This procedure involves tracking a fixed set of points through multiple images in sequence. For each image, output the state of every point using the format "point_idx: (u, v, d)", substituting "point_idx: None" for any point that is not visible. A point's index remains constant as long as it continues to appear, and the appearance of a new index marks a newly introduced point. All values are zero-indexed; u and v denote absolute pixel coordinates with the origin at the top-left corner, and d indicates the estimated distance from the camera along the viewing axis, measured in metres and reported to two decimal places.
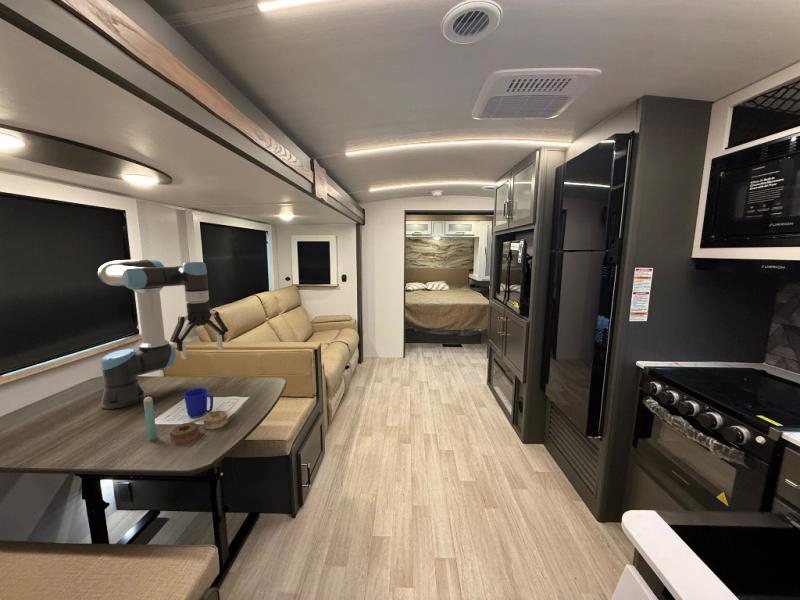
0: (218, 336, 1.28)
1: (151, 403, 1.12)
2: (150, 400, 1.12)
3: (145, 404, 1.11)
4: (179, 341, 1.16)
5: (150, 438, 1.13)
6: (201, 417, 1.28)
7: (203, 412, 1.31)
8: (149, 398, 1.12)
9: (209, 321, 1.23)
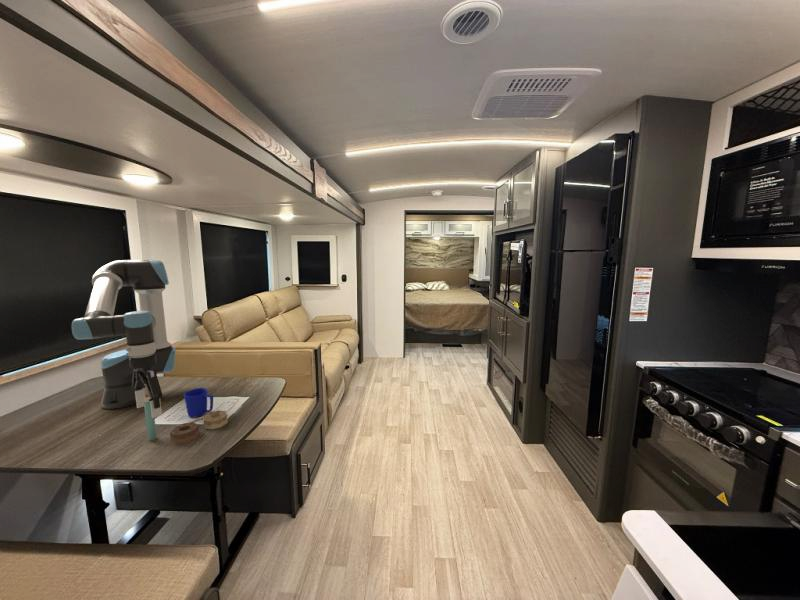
0: None
1: None
2: None
3: (145, 404, 1.11)
4: None
5: (150, 438, 1.13)
6: (201, 417, 1.28)
7: (203, 412, 1.31)
8: (149, 398, 1.12)
9: (142, 380, 1.08)
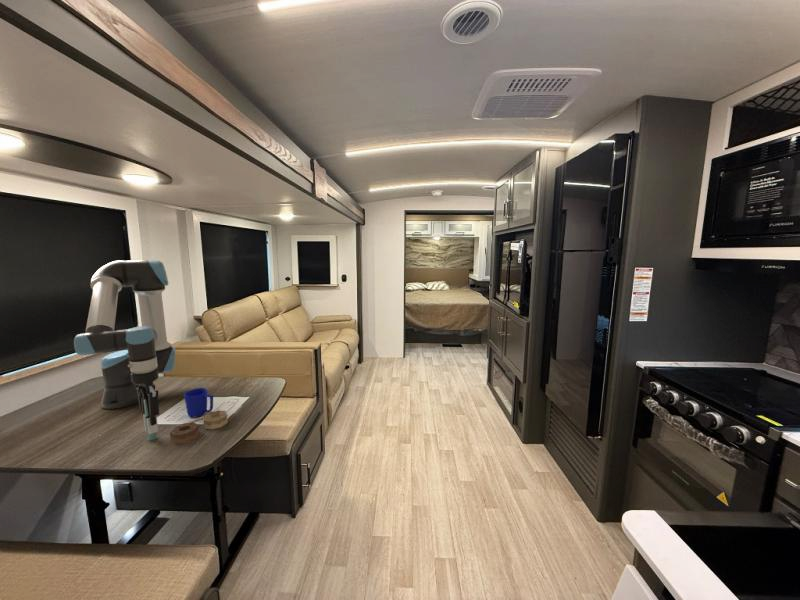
0: None
1: None
2: None
3: (145, 404, 1.11)
4: None
5: (150, 438, 1.13)
6: (201, 417, 1.28)
7: (203, 412, 1.31)
8: None
9: (143, 395, 1.10)
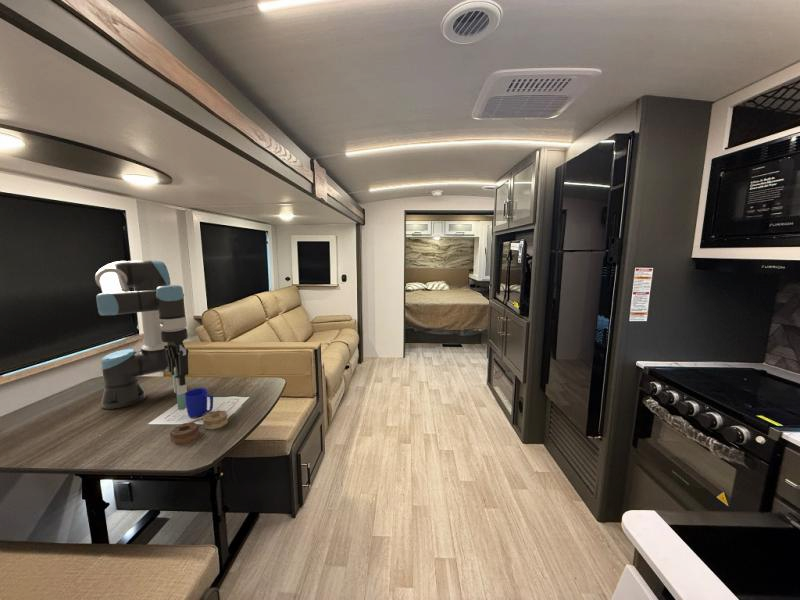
0: None
1: None
2: None
3: (175, 372, 1.10)
4: None
5: (180, 407, 1.12)
6: (201, 417, 1.28)
7: (203, 412, 1.31)
8: None
9: (172, 355, 1.08)
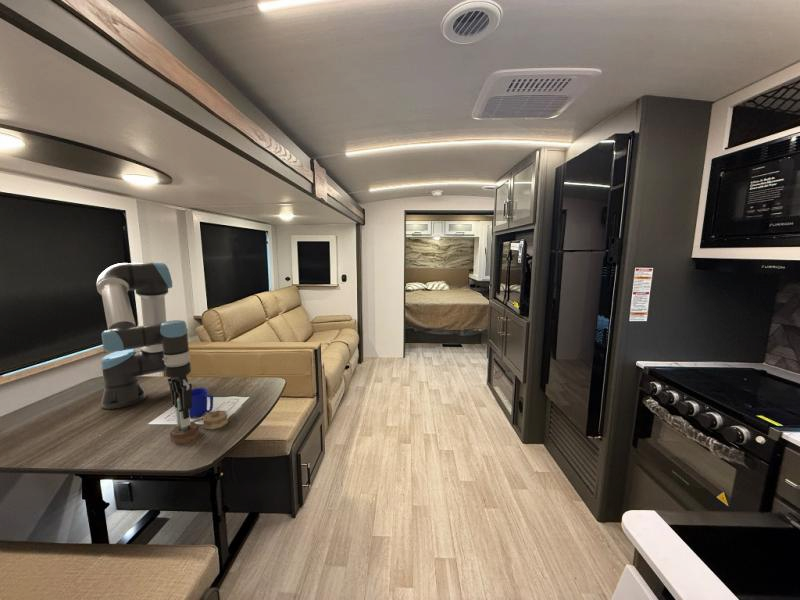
0: None
1: None
2: None
3: (179, 403, 1.12)
4: None
5: None
6: (201, 417, 1.28)
7: (203, 412, 1.31)
8: None
9: (176, 389, 1.10)
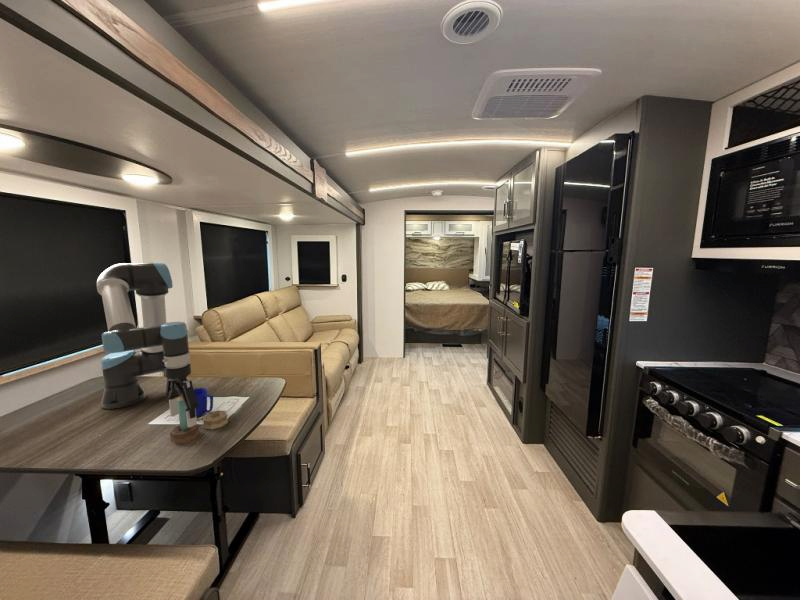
0: None
1: None
2: None
3: (179, 403, 1.12)
4: None
5: None
6: (201, 417, 1.28)
7: (203, 412, 1.31)
8: None
9: (178, 390, 1.10)
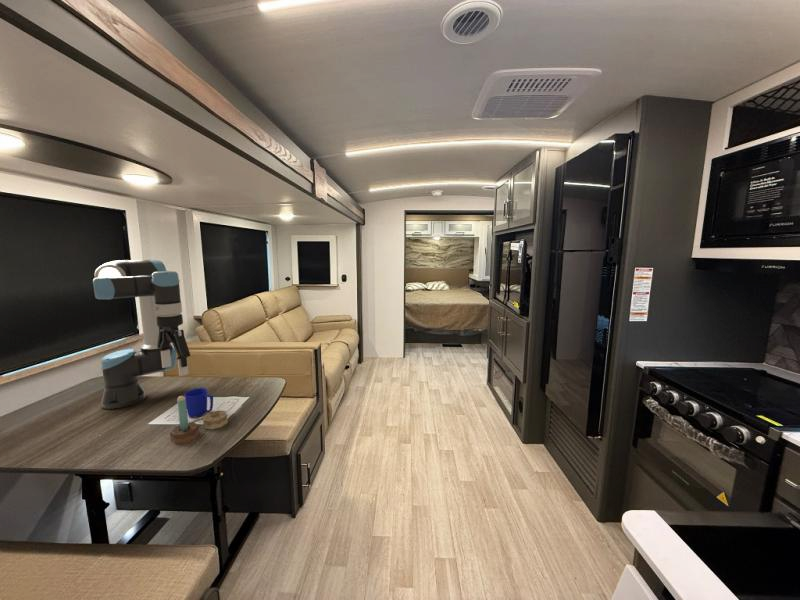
0: None
1: (184, 402, 1.13)
2: (184, 399, 1.13)
3: (179, 403, 1.12)
4: None
5: None
6: (201, 417, 1.28)
7: (203, 412, 1.31)
8: (182, 397, 1.13)
9: (169, 339, 1.09)
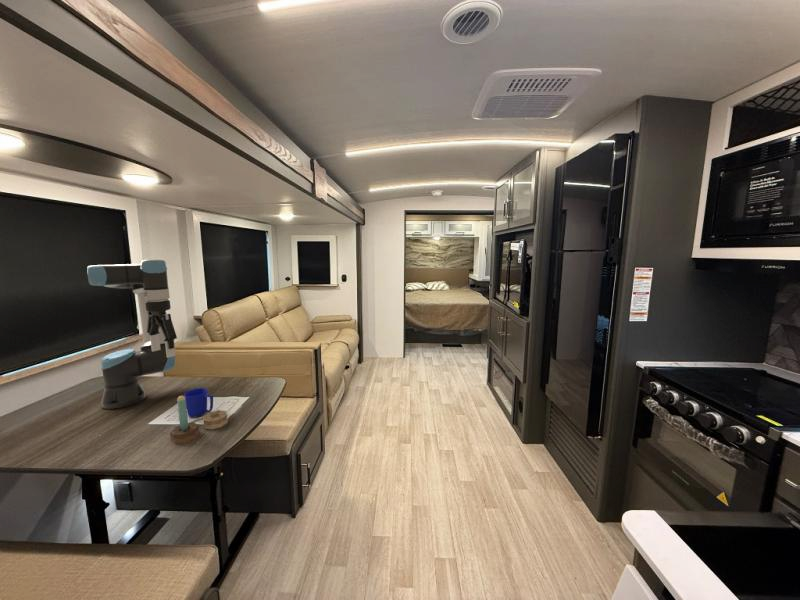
0: None
1: (184, 402, 1.13)
2: (184, 399, 1.13)
3: (179, 403, 1.12)
4: None
5: None
6: (201, 417, 1.28)
7: (203, 412, 1.31)
8: (182, 397, 1.13)
9: (157, 322, 1.17)
